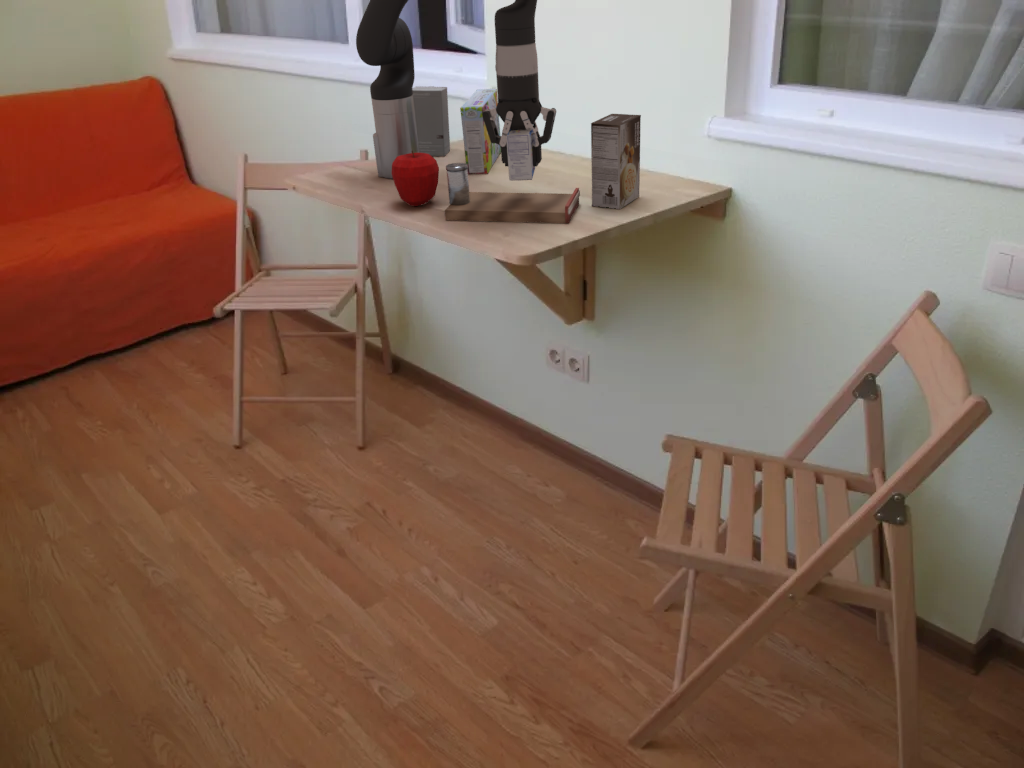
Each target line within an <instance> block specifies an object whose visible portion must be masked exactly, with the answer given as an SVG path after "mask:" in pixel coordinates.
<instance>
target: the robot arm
mask: <svg viewBox="0 0 1024 768" xmlns="http://www.w3.org/2000/svg"><path fill="white" fill-rule="evenodd" d="M408 2H409V0H369V2H368V5H367V6H366V9H365V10H364V13H363V16H362V17H361V20H360V23H359V25H358V29H357V32H356V36H355V37H356V38H355V45H356V51H357V54H358V56H359V58H360V60H361V61H362V62H363V63H364V64H366V65H368V66H372V67H380V69H379V70H380V71H379V73H378V75H377V77H376V78H375V79H374V80H373V82H372V83H371V84H370V85H369V87H370V89H369V90H370V97H371V105H372V113H373V121H374V127H375V128H374V129H375V132H374V133H373V134H372V141H373V148H374V153H375V154H374V155H375V161H376V162H375V164H376V169H377V170H376V171H377V176H378V178H379V177H382V178H386V179H391V180H393V177H392V163H393V161H394V160H395V159H396V157H397V156H400V155H405V154H409V153H412V151H413V153H419V146H418V137H417V128H416V118H415V109H414V100H413V90H412V88H414V87H413V86H414V82H415V60H414V59H415V58H414V45H413V38H412V34H411V30H410V29H409V26H408V24H407V23H406V22H405V21H404V19H402V18H401V17H400V16H401V13H402V11H403V9H404V8H405V6H406V4H407V3H408ZM537 3H538V0H514V2H513V3H511V4H508V5H506V6H504V7H501V8H499V9H497V10H496V11H495V14H494V32H495V67H494V68H495V73H496V89H497V99H498V104H497V106H496V108H493V109H487V110H485V111H484V112H483V113H482V116H483V119H484V122H485V126H486V129H487V132H488V135H489V138H490V141H491V143H496V144H498V145H500V147H501V153H500V155H501V163H502V164H504V166H505V167H508V154H507V138H506V136H507V134H508V132H509V131H510V129H518V128H520V129H526V130H527V131H530V132H531V140H532V144H533V147H532V157H533V167H535V168H536V167H538V166H539V164H540V163H541V161H542V160H543V158H542V157H543V156H542V145H544V144H547V143H549V141H550V140H551V138H552V133H553V130H554V124H555V121H556V120H555V119H556V115H557V109H556V108H555V107H552V108H548V107H544V106H543V105H542V104H541V101H540V88H539V86H540V85H539V66H538V65H539V64H538V62H539V58H538V52H537V46H536V45H537V43H536V27H535V26H536V22H535V20H536V19H535V18H536V11H537V6H538V5H537ZM496 114H498V115H499V119H501V121H503V123H504V124H503V126H502V127H503V128H502V131H501V135H500V136H499V134H498V130H497V127H496V124H495V119H496ZM540 115H542V119H543V121H544V122H545V123H544V128H543V134H542V135H541V134H540V132H539V127H538V125H537V119H538V118H539V116H540Z"/></svg>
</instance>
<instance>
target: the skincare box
mask: <svg viewBox="0 0 1024 768" xmlns="http://www.w3.org/2000/svg"><path fill="white" fill-rule="evenodd" d="M412 90H413V100H414V109H415V118H416V128H417V137H418V146H419V153H427V154H429V155H431V156H432V157H445V156H446V155H448V153H450V151H451V141H450V140H451V138H450V121H449V102H448V101H449V100H448V87H447V86H434V85H433V86H431V85H430V86H420V85H419V86H415V87H412Z"/></svg>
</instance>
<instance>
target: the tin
mask: <svg viewBox="0 0 1024 768" xmlns="http://www.w3.org/2000/svg"><path fill="white" fill-rule="evenodd" d="M467 169H468V165H467V164H466V162H452V163H448V164H447V165H445V171H446V179H447V188H448V201H449V205H450V204H451V205H465V204H468V203H470V196H469V192H470V185H469V174H468V171H467Z"/></svg>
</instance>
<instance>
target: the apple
mask: <svg viewBox="0 0 1024 768" xmlns="http://www.w3.org/2000/svg"><path fill="white" fill-rule="evenodd" d="M439 174H440V167H439V164H438V162H437V159H436V158H434V156H431V155H429V154H427V153H413V151H412V153H409V154H405V155H400V156H397V157H396V159H395V160H394V161H393V163H392V177H393V179H392V180H393V183H394V187H395V188H396V192H398V195H399V198H400V199H401V201H403V202H405V203H406V204H407V205H408V206H410V207H418V206H419V207H420V206H423V205H425V204H428V203H429V202H430V201H431V200H432V199H434V198H435V196H436V193H437V188H438V185H439Z"/></svg>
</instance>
